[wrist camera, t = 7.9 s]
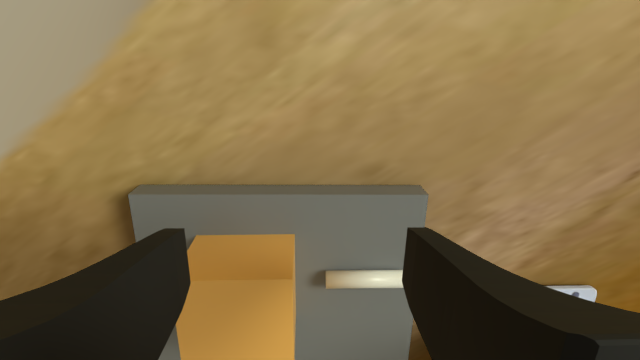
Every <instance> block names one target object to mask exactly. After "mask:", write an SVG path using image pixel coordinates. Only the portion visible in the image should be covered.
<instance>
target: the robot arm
mask: <svg viewBox="0 0 640 360" xmlns="http://www.w3.org/2000/svg"><path fill="white" fill-rule="evenodd" d="M190 284H191V281H190V272H189V264H188V255H187V246H186V238H185V229H184V228H165V229H162V230H160V231H157V232H155V233H153V234H151V235H149V236H147V237H145V238H144V239H142V240H140V241H138V242H136V243H134V244H132V245H131V246H129V247H127V248H125V249H123V250H121V251H119V252H118V253H116V254H114V255H112V256H110V257H108V258H106V259H104V260H102V261H100V262H98V263H96V264H94V265H91V266H89V267H87V268H85V269H83V270H81V271H79V272H77V273H75V274H72V275H70V276H68V277H65V278H63V279H60V280H58V281H55V282H53V283H50V284H48V285H45V286H43V287H40V288H37V289H34V290H31V291H28V292H25V293H23V294H20V295H17V296H14V297H11V298H8V299H5V300H2V301H0V360H158V359H159V357H160V355H161V353H162V351H163V349H164V347H165V345H166V343H167V341H168V339H169V337H170V335H171V333H172V331H173V329H174V327H175V324H176V322H177V320H178V318H179V316H180V314H181V312H182V309H183V306H184V303H185V300H186V297H187V294H188V291H189V287H190ZM402 284H403V288H404V291H405V295H406V299H407V302H408V305H409V308H410V311H411V313H412V315H413V318H414V320H415V322H416V324H417V327H418V329H419V331H420V333H421V336H422V338H423V340H424V342H425V345H426V347H427V349H428V351H429V354H430V356H431V358H432V360H640V313H636V312H631V311H627V310H623V309H619V308H615V307H611V306H607V305H603V304H600V303H596V302H595V299H596V295H597V291H596V290H595V289H594V288H593V287H592V286H588V285H585V286H543V285H540V284H537V283H535V282H532V281H530V280H528V279H525V278H523V277H520V276H518V275H516V274H513V273H511V272H509V271H507V270H504V269H502V268H500V267H498V266H496V265H494V264H492V263H490V262H488V261H486V260H484V259H483V258H481V257H479V256H477V255H475V254H473V253H472V252H470V251H468V250H466V249H464V248H463V247H461V246H459V245H457V244H456V243H454V242H452V241H451V240H449V239H447V238H445V237H444V236H442V235H440V234H438V233H437V232H435V231H433V230H431V229H429V228H426V227H407V237H406V246H405V255H404V265H403V274H402ZM573 293H574V294H573Z"/></svg>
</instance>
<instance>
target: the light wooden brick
mask: <svg viewBox="0 0 640 360" xmlns="http://www.w3.org/2000/svg"><path fill="white" fill-rule="evenodd" d="M187 255H188V264H189V272H190V281H191V284H190V287H189V291H188V294H187V297H186V300H185V303H184V306H183V309H182V312H181V314H180V316H179V318H178V320H177V322H176V329H177V336H178V343H179V350H180V357H181V360H295V325H296V293H295V234H265V235H196V237H195V238H194V240H193V242H192V244H191V245H190V247H189V249H188V250H187Z"/></svg>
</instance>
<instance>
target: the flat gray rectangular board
mask: <svg viewBox="0 0 640 360" xmlns="http://www.w3.org/2000/svg"><path fill="white" fill-rule="evenodd" d="M128 198H129V204H130V210H131V216H132V222H133V228H134V234H135V240H136V242H138V241H140V240H142V239H144V238H145V237H147V236H149V235H151V234H153V233H155V232H157V231H160V230H162V229H165V228H184V229H185V238H186V246H187V250H188V249H189V247H190V245H191V244H192V242H193V240H194V238H195V237H196V235H265V234H295V293H296V325H295V360H408V356H409V348H410V340H411V332H412V324H413V315H412V313H411V311H410V308H409V305H408V302H407V299H406V295H405V291H404V288H403V284H402V274H403V265H404V255H405V246H406V237H407V227H424V226H425V218H426V210H427V202H428V194H427V193H426V191H425V190H424V189H423V188H422V187H421V186H420V185H139V186H138V187H137V188H135V189H134V190H133V191H132V192H131V193H129V194H128ZM158 360H181V357H180V350H179V343H178V336H177V329H176V324H175V327H174V329H173V331H172V333H171V335H170V337H169V339H168V341H167V343H166V345H165V347H164V349H163V351H162V353H161V355H160V357H159V359H158Z"/></svg>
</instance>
